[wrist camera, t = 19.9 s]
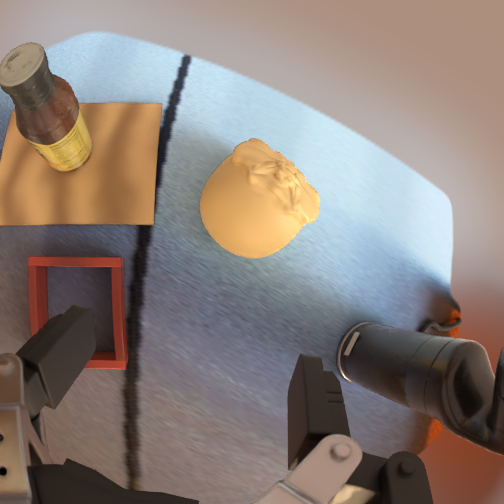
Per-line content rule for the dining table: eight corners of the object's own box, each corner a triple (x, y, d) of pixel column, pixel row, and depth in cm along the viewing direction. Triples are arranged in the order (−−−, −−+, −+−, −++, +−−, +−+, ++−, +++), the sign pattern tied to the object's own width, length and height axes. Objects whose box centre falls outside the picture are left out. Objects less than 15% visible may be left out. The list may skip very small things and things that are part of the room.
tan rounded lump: (302, 207, 42) (347, 188, 32) (248, 277, 39) (282, 278, 29) (238, 149, 40) (266, 111, 30) (176, 216, 37) (185, 194, 27)
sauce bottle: (47, 137, 32) (-11, 43, 13) (92, 123, 33) (60, 15, 14) (52, 184, 32) (-22, 109, 13) (98, 169, 34) (57, 76, 15)
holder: (124, 258, 35) (120, 257, 31) (128, 359, 34) (125, 369, 30) (40, 258, 31) (28, 256, 28) (45, 356, 31) (34, 364, 27)
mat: (162, 106, 37) (162, 103, 36) (153, 225, 36) (153, 224, 35) (14, 112, 30) (12, 110, 30) (-6, 225, 29) (-9, 225, 29)
